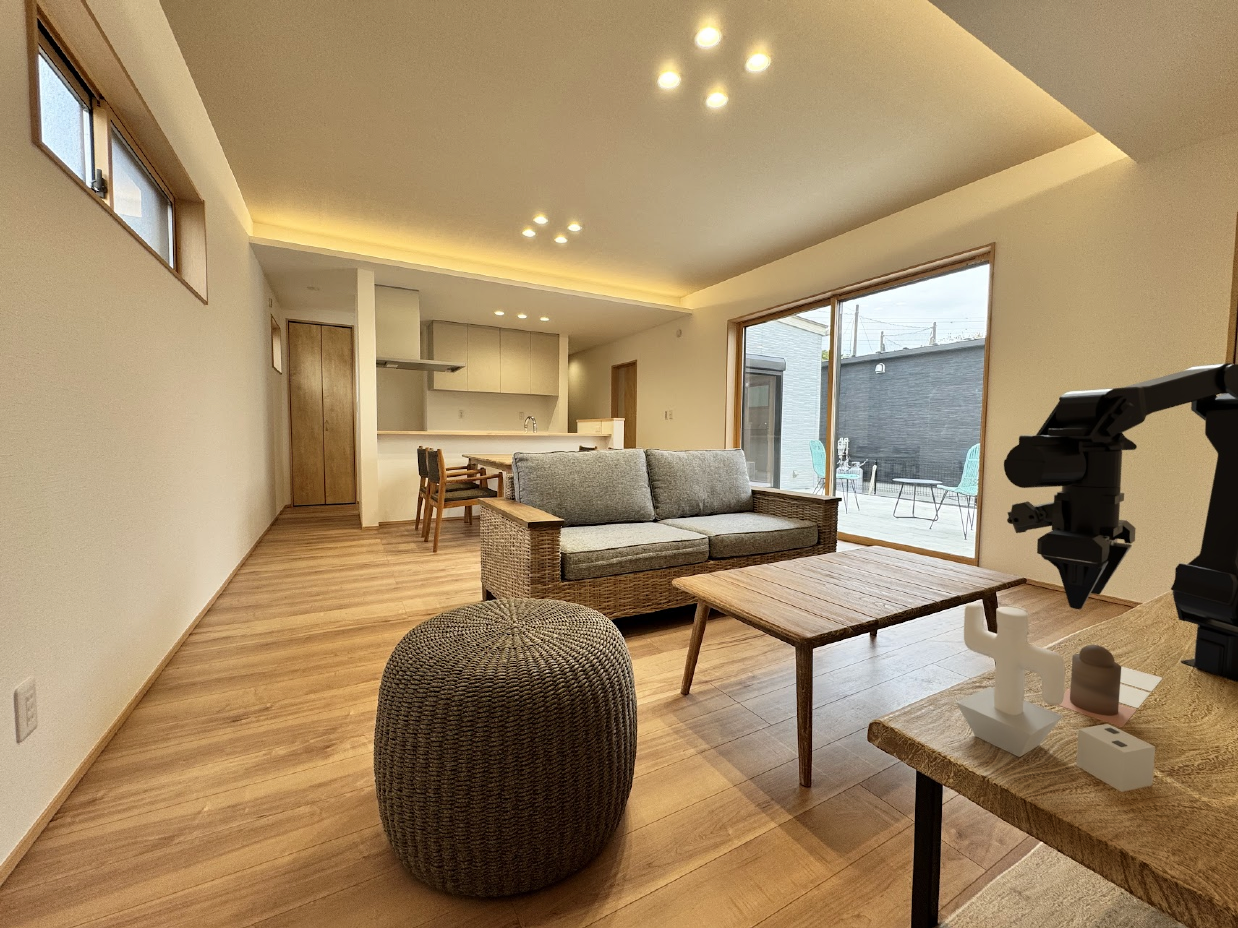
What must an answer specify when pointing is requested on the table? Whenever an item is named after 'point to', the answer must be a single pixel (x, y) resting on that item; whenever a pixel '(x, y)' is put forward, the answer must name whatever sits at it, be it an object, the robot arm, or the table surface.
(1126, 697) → the game board
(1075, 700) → the pawn
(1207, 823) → the table surface
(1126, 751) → the cream box with slots
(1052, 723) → the figurine
